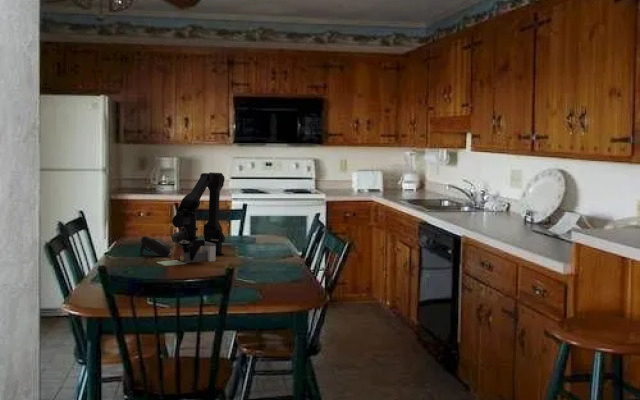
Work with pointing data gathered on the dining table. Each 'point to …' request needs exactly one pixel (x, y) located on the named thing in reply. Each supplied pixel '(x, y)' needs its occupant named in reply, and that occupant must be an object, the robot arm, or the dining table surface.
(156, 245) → the gun
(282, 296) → the dining table surface
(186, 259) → the grey tall block
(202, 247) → the clip
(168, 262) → the mat
